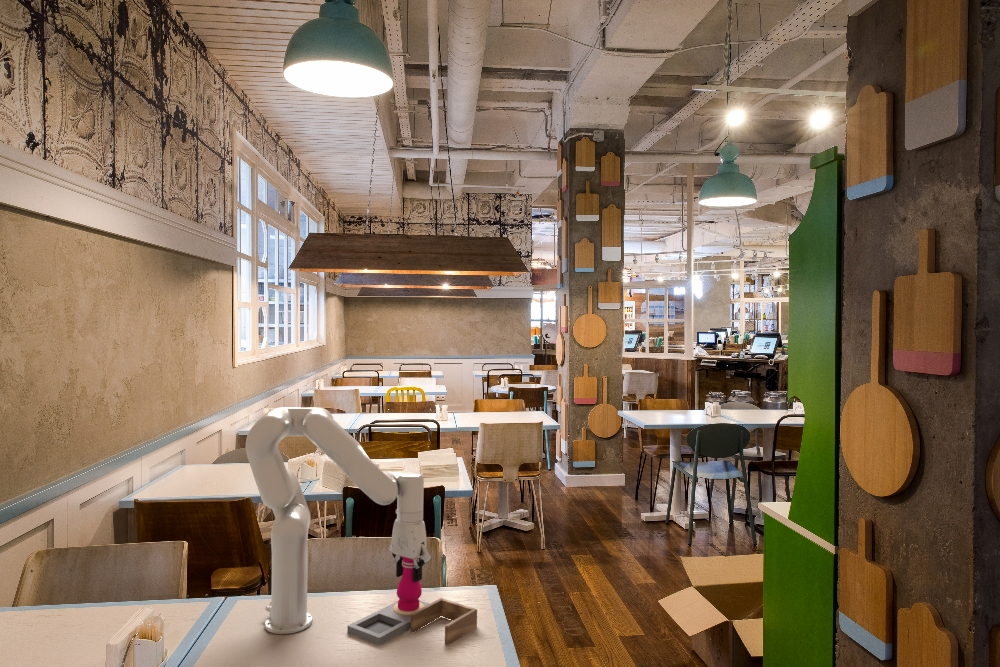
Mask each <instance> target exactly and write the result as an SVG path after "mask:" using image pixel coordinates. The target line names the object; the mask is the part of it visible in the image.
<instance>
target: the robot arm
mask: <svg viewBox="0 0 1000 667" xmlns="http://www.w3.org/2000/svg"><path fill="white" fill-rule="evenodd" d="M286 437H306V438H307V439H308V440H309V441H310V442H311V443H312V444H313V445H314V446H315V447H317V448H318V450H320V451H321V452H322V453H323V454H324V455H325V456H326V457H328V458H329V459H330V460H331V461H332V462H333V463H335V465H336V466H337V467H339V469H340V470H341V472H343V473H344V474H345V475H346V476H347V477H348V478H349V479H350V481H352V483H353V484H355V486H356V487H357V488H358V489H359V490H361V491H362V492H363V493H364V494H365V495H366V496H367V497H368V498H369V499H370V500H372V501H373V502H374V503H376V504H378V505H380V506H387V505H391V504H392V503H394V501H395V500H396V499H397V500H396V501H397V502H396V503H397V504H396V507H397V508H396V509H395V514H396V519H395V520H394V522H393V527H392V531H391V532H392V534H391V544H390V545H389V546H388V549H389V551H390V552H391V553H392V554H391V555H392V556H393V559H394V563H395V564H396V566H395V567H396V568H395V577H396V578H400V577H402V575H403V566H402V560H403V558H402V557H401V556H403V557H406V558H409V559H413V561H414V565H415V568H413V582H417V581H421V580H422V579H423V567H424V566H425V564H426V563H427V562H428V561H429V560H431V557H432V556H431V554H430V553H429V551H428V549H427V531H426V523H425V521H424V495H425V494H424V489H425V488H424V487H425V486H424V485H425V484H424V482H425V479H424V476H423V474H422V473H419V472H415V471H409V472H406V471H405V472H393V471H382V470H381V469H380V468H379V467H378V466H377V465H376V464H375V463H374V462H373V461H372V459H370V457H369V456H368V455H367V453H366V451H365V449H364V448H363V446H362V445H361V443H359V441H358V440H357V439H355V437H353V436H352V435H351V434H350V433H349V432H348V431H346V429H344V427H342V426H341V425H340V424H339V423H338V422H337V421H336V420H335V419H334V416H333V415H332V413H331V411H329V410H328V409H325V407H275V408H272V409H270V410H268V411H267V412H266V413H264V414H263V415H261V417H260V418H258V420H257V421H256V422H255V423H254V424H253V425H252V426H251V428H250V429H249V431H248V433H247V436H246V440H245V454H246V458H247V460H248V463H249V466H250V469H251V472H252V475H253V478H254V481H255V483H256V486H257V487H256V488H257V490H258V494H259V496H260V499H261V502H262V503H263V505H264V506H266V507H267V508H268V509H269V510H272V512H273V515H274V517H275V519H274V521H273V524H272V526H271V532H270V541H271V542H270V543H271V545H270V546H271V594H270V596H271V598H270V600H271V601H270V602H269V605H267V606H265V608H264V610H265V611H266V612H268V613H269V617H268V618H267V619H266V620H265V623H264V628H265V630H266V631H268V632H270V633H272V634H275V635H276V634H277V635H288V634H294V633H298V632H301V631H304V630H305V629H307V628H309V627H310V626H311V625H312V624H313V616H312V614H311V613H310V612H308V570H309V569H308V558H309V557H308V554H309V553H308V550H309V548H308V539H309V538H308V537H309V536H308V535H309V529H310V524H311V511H310V509H309V506H308V504H307V501H306V499H305V495H304V492H303V490H302V486H301V485H300V482H299V481H300V480H298V478H297V475H295V473H294V472H292V471H291V470H289V469H287V467H286V464H285V460H284V458H283V455H282V454H281V452H280V450H279V449H280V448H279V444H280V442H281V441H282V440H283V439H285V438H286ZM418 558H419V559H418ZM418 560H419V562H418Z"/></svg>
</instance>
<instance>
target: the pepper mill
mask: <svg viewBox="0 0 1000 667" xmlns="http://www.w3.org/2000/svg"><path fill="white" fill-rule="evenodd" d="M401 557H402V558H403V560H402V566H403V575H402V576H401V579H400V580H399V583H397V584H398V585H397V587H396V596H397V598H398V600H397V601H398V608H399V609H400V610H402V611H414V610H417V609H418V608H419V603H420V601H421V600H420V597H421V596H422V592H423V591H422V590H423V589H422V585H421V582H420V581H421V580H419V581H417V582H413V568H415V565H414V561H413V559H409V558H406V557H403V556H401ZM418 562H419V558H418ZM419 600H420V601H419Z"/></svg>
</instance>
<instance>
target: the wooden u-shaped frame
mask: <svg viewBox="0 0 1000 667" xmlns="http://www.w3.org/2000/svg"><path fill="white" fill-rule="evenodd" d="M440 616H443V617H445V618H448V619H451V620H453V621H451V620H450V622H449V623H446V624H445V625H444V645H445V646H449V645H450V644H453V643H454V642H455V641H457V640H458V639H460V638H462V637H463V635H464V636H465V635H467V634H468V633H470V632H472V631H473V630H475V629H477V627H478V609H477V608H475V607H471V606H467V605H465V604H461V603H458V602H455V601H452V600H448V599H445V598H443V597H441V598H438V599H437V600H434V601H432V602H431V603H429V605H427V606H425V607H423V608H421V609H419V610H417V611H415V612H413V613H411V628H410V633H412V632H414V633H416V632H418V631H419V630H418V629H420V628H421V627H423V626H425V625H427V624H428V623H430V622H432V621H434V620H435V619H437V618H439V617H440ZM445 618H444V619H445ZM439 619H440V618H439ZM448 619H447V620H448ZM437 620H438V619H437ZM434 622H435V621H434ZM432 623H433V622H432ZM430 624H431V623H430ZM428 625H429V624H428ZM428 625H427V626H428ZM425 627H426V626H425ZM423 628H424V627H423ZM421 629H422V628H421ZM421 629H420V630H421ZM417 630H418V631H417ZM415 631H416V632H415Z"/></svg>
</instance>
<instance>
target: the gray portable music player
mask: <svg viewBox="0 0 1000 667" xmlns="http://www.w3.org/2000/svg"><path fill="white" fill-rule="evenodd" d="M419 601H420V603H419V608H418V609H417V610H419V609H421V608H423V607H425V606H427V605H429V604H430V603H429V602H425V601H423V600H420V599H419ZM417 610H414V611H402V610H400V609H399V608H398V600H397V601H395V602H394V603H391V604H389V605H387V606H385V607H383V608H381V609H378V610H376V611H375V612H373V613H370V614H369V615H367V616H365V617H362V618H361V619H358V620H356V621H354V622H352V623H350V624H348V625H347V627H346V628H347V634H349V635H351V636H354V637H356V636H357V638H359V639H362V640H364V641H367V642H369V643H372V644H375V645H377V646H380V645H383V644H385V643H386V642H388V641H390V640H392V639H394V638H395V637H397V636H399V635H401V634H403V633H405V632H407V631H408V630H410V629H411V613H413V612H415V611H417ZM409 628H410V629H409ZM407 629H408V630H407ZM406 630H407V631H406ZM404 631H405V632H404ZM402 632H403V633H402Z"/></svg>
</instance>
